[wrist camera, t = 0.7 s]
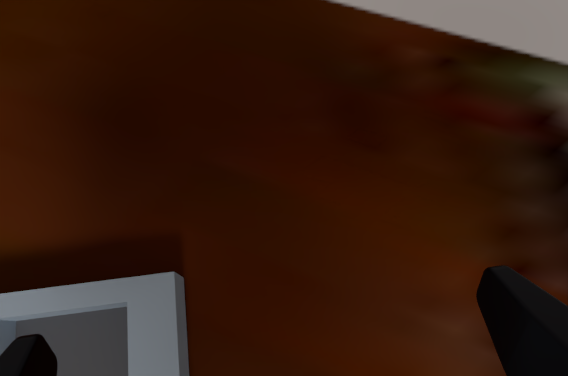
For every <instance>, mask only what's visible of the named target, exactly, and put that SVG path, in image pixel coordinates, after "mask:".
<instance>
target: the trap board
mask: <svg viewBox="0 0 568 376" xmlns="http://www.w3.org/2000/svg"><path fill="white" fill-rule="evenodd" d="M31 334H41V335H42V336H43V337H44V338H45V340H46V341H47V343H48V344H49V346H50V347H51V349H52V350H53V352H54V353H55V355H56V357H57V362H58V370H57V376H189V362H188V345H187V327H186V309H185V292H184V278H183V277H182V276H180V275H179V274H177V273H176V272H167V273H159V274H151V275H143V276H135V277H128V278H120V279H112V280H104V281H96V282H88V283H81V284H73V285H65V286H57V287H49V288H42V289H34V290H26V291H18V292H10V293H2V294H0V355H1V354H2V353H3V352H4V351H5V349H6V348H7V347H8V346H9V345H10V344H11V343H12V342H13V341H14V340H15V339H16V338H18V337H20V336H24V335H31Z"/></svg>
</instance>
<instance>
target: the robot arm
mask: <svg viewBox="0 0 568 376" xmlns="http://www.w3.org/2000/svg"><path fill="white" fill-rule="evenodd" d="M476 296H477V302H478V305H479V308H480V310H481V313H482V315H483V318H484V320H485V323H486V326H487V328H488V331H489V333H490V336H491V338H492V341H493V343H494V346H495V349H496V351H497V354H498V356H499V359H500V361H501V364H502V366H503V368H504V371H505V373H506V375H507V376H568V306H567V305H565V304H564V303H562V302H561V301H559V300H558V299H556V298H555V297H553V296H552V295H550V294H549V293H547V292H546V291H544V290H543V289H541V288H540V287H538V286H537V285H535V284H534V283H532V282H531V281H529V280H528V279H526V278H525V277H523V276H522V275H520V274H519V273H517V272H516V271H514V270H513V269H511V268H509V267H507V266H495V267H488V268H487V269H485V270H484V272H483V275H482V278H481V281H480V284H479V287H478V289H477V295H476ZM57 370H58V362H57V357H56V355H55V353H54V352H53V350H52V349H51V347H50V346H49V344H48V343H47V341H46V340H45V338H44V337H43V336H42V335H41V334H31V335H24V336H20V337H18V338H16V339H15V340H14V341H13V342H12V343H11V344H10V345H9V346H8V347H7V348H6V349H5V351H4V352H3V353H2V354H1V355H0V376H57Z"/></svg>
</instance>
